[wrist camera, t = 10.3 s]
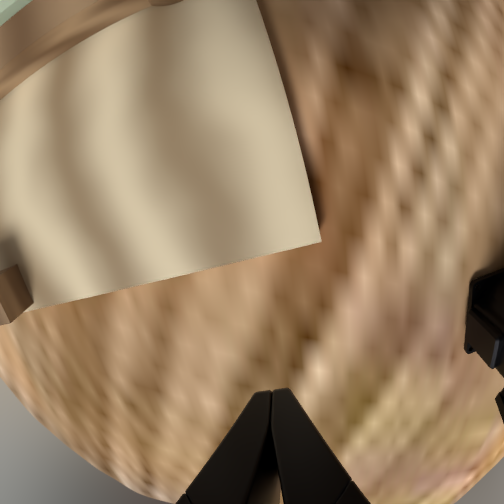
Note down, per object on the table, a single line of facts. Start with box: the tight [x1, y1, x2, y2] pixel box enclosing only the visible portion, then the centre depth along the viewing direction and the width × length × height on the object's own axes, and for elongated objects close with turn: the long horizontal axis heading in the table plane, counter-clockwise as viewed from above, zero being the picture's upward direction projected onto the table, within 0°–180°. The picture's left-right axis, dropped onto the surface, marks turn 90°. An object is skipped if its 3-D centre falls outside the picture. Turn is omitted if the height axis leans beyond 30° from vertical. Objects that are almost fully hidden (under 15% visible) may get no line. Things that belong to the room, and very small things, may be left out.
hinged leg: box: [0, 0, 183, 100], centre depth 11 cm, size 16×4×4 cm, turn 108°
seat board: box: [0, 0, 321, 325], centre depth 14 cm, size 23×21×4 cm
